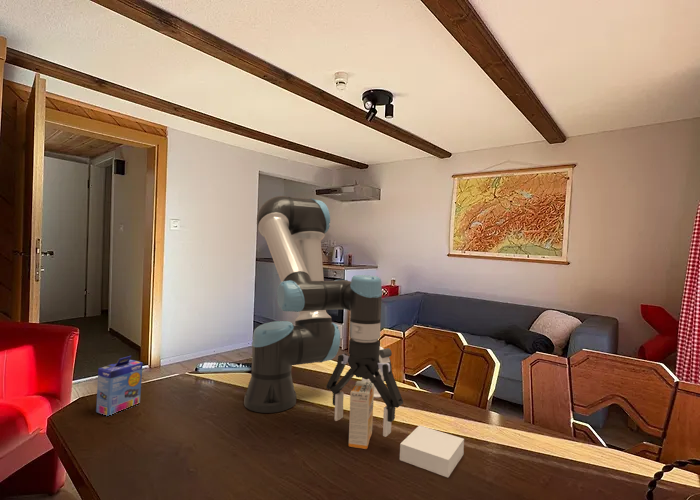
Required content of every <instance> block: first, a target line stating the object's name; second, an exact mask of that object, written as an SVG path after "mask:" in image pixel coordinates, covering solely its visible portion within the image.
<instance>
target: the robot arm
mask: <svg viewBox="0 0 700 500" xmlns="http://www.w3.org/2000/svg"><path fill="white" fill-rule="evenodd" d="M330 224H331V215H330V210H329V207H328V206H327V204H326V203H325V202H324V201H322V200H319V199H315V198H305V197H304V198H302V197H296V196H295V197H294V196H287V195H278V196H273V197H271V198H269V199H268V200H266V201H265V202H264V203H263V204H262V205H261V206H260V208H259V209H258V212H257V214H256V227H257V229H258V232H259V234H260V235H261V237H263V238H265V242H266V244H267V247H268V250H269V252H270V255H271V257H272V260H273V263H274V265H275V270H276V271H277V275H278V277H279V280H280V283H279V284H278V286H277V291H276V299H277V306H278V308H279V309H280V310H281V311H283V312H291V313H293V312H294V313H298V315H297V317H296V318H295V320H294V322H295V323H292V322H291V321H288V320H282V321H280V320H278V321H271V322H265V323H262V324H260V325H258V326H257V327H256V328H255V329H254V330H253V334H252V341H251V346H252V347H251V348H252V350H251V351H252V352H251V374H250V375H251V376H250V380H249V383H248V386H247V389H246V392H245V393H244V397H243V398H244V399H243V400H244V401H243V405H244V407H245V408H246V409H247V410H249V411H251V412H255V413H260V414H261V413H263V414H264V413H265V414H268V413H269V414H270V413H271V414H273V413H279V412H283V411H286V410H289V409H291V408H293V407H294V406H295V405H296V404H297V392H296V390H295V387H294V382H293V378H292V367H293V366H297V365H298V366H299V365H306V364H315V363H316V364H317V363H323V362H328V361H332V360H333V359H334V358H336V356H337V355H338V353H339V350H340V346H341V331H340V329H339V326H338V325H337V324H336V323H334V322H332V321H333V320H332V316H331V315H329V313H328V312H327V311H331V310H333V311H335V310H346V311H349V337H350V339H349V340H348V353H349V355H348V354H347V353H343V354H340V355H338V357H337V363H336V365H335V368H334V370H333V372H332V373H331V375H330V378H329V380H328V381H327V383H326V386H325V387H326V389H327V390H330V391H331V392H332V405H333V406H334V421H335V422H338V421H340V420H341V419H343V418H344V400H345V399H344V398H345V397H344V394H345V393H344V391H342V390H343V389H344V387H345V386H346V385H347V384H348V383H349V382H350V381H351V379H352V378H354V377H356V378H361V379H362V378H364V379H369V380H370V381H371V383H373V384H374V386H375V387H376V389H377V391H378V392H379V394H380V396H381V397H380V398H381V399H382V400H383V402H384V404H385V405H386V406H384V407H383V418H382V419H383V427H382V428H383V429H382V436H383V437H387V436H389V435H390V434H391V433H392V422H394V421H395V418H396V409H397V408H400V407H401V406H402V405H403V404H404V400H403V397H402V395H401V392H400V389H399V387H398V384H397V382H396V379H395V375H394V374H393V370H392V369H393V367H392V362H391V363H390V362H388V363H380V361H379V355H380V346H381V341H380V340H379V339H381V318H382V299H383V298H382V297H383V291H382V279H381V278H380V277H379V276H378V275H366V274H365V275H363V274H362V275H360V274H358V275H357V274H356V275H353V276H352V277H351V280H348V279H335V280H324V264H323V253H322V240H323V239H324V238H325V236H326V233H327V232H328V231H329V229H330V227H331V226H330ZM294 324H295V325H294ZM347 364H348V365H349V367H350V368H349V370H347V372H346V373H345V375H344V376H343V377H342V378H341V379H340V377H341V375H342V373H343V371H344V369H345V367H346V365H347ZM379 368H380V369H381V372H382V373H383V377H384V379H385V381H384V382H383V380H382V378H381V375H380V373H379V372H378V370H379ZM374 375H375V377H374Z"/></svg>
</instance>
